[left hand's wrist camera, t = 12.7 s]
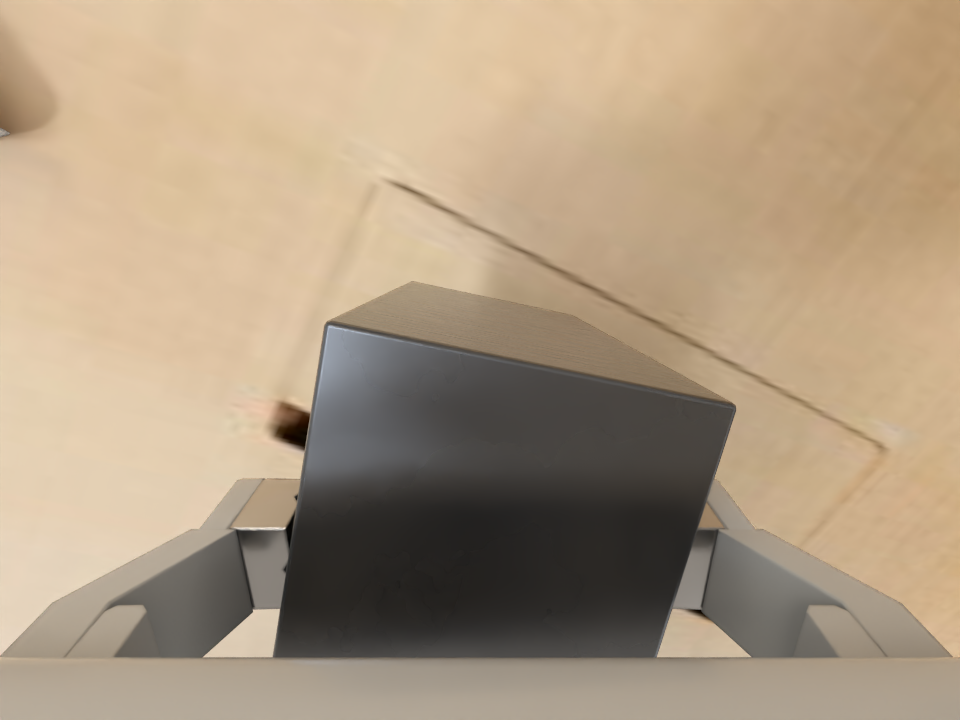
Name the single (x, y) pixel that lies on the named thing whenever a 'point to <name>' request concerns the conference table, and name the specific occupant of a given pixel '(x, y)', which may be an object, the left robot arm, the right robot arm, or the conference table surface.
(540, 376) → the box
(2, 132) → the fish
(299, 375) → the conference table surface
